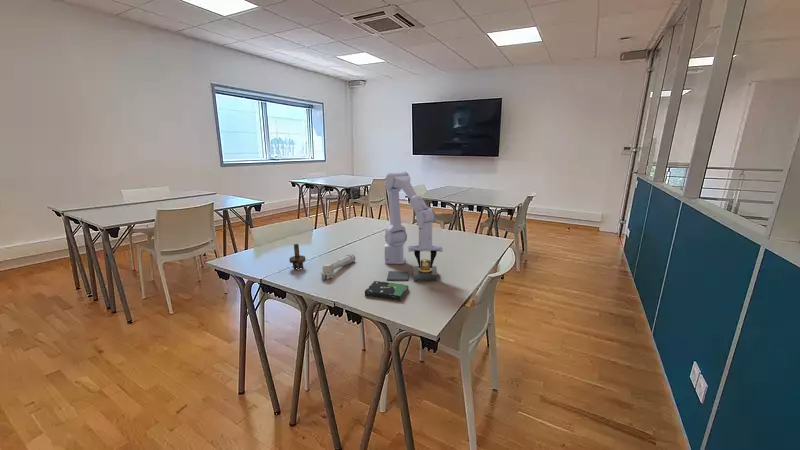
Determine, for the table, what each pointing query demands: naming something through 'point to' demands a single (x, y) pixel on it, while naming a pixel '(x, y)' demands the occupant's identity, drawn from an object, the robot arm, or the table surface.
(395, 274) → the mat
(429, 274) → the housing
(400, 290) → the disk drive
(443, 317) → the table surface
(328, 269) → the toothbrush head
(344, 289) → the table surface
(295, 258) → the industrial component
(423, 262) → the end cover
